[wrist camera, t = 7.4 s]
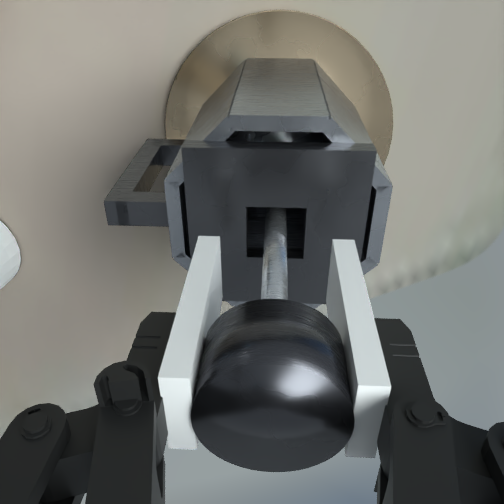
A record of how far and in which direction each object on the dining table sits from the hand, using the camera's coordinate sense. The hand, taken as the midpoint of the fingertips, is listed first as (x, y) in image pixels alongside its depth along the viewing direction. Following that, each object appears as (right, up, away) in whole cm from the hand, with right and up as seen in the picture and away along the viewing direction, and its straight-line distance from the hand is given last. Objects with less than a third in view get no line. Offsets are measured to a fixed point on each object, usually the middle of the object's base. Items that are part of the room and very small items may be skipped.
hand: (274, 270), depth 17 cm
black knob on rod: (+1, +7, +11) cm, 13 cm away
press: (+1, +8, +13) cm, 15 cm away
